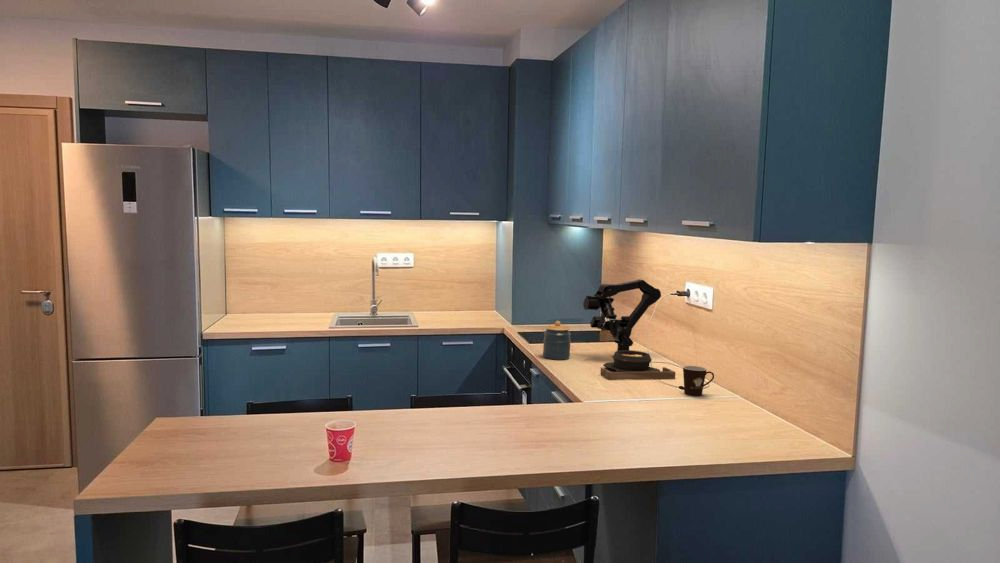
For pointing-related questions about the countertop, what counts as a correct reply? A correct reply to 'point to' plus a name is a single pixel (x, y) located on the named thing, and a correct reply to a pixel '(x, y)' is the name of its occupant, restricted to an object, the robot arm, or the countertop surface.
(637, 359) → the casserole
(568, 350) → the canister
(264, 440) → the countertop surface
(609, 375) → the stop frame
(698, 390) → the coffee mug
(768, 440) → the countertop surface
